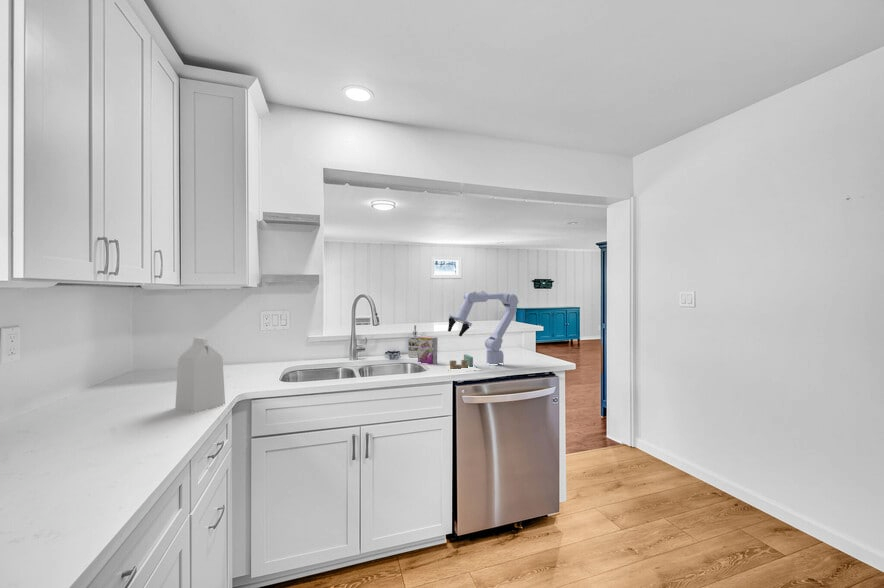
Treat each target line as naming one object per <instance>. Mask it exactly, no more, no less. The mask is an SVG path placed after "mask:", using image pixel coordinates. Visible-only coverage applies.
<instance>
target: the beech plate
mask: <svg viewBox="0 0 884 588" xmlns="http://www.w3.org/2000/svg"><path fill="white" fill-rule="evenodd" d="M460 361H461V362H460V364H457V360H456V359H455V360H454V359H453V360H449V365H450V369H461V368H468V360H464V359H461V360H460Z"/></svg>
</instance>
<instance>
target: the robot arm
mask: <svg viewBox="0 0 884 588" xmlns="http://www.w3.org/2000/svg"><path fill="white" fill-rule="evenodd" d="M488 300H499V301H500V302H501V304H502V305H503V306H504V308H505V310H506V311H505V312H504V315H503V316H502V318H501V320H500V321H499V323H498V325H497V326H496V329H495V331H494V332H493V333H492V334H491V335H489V337H488V338H487V339H486V340H485V341H484V346H485V347H486V348H485V349H486V364H487V363H489V364H499V363H503V364H504V352H503V351H502V350H501V348H502V344H503V340H504V339H503V337H504V335H505V333H506V331H507V329H508V327H509V326H510V325H511V322H512V320H513V319H514V317H515V315H516V313H517V311H518V310H517V308H518V304H519V299H518V297H517V295H516V294H514V293H513V294H510V293H504V292H503V293H501V292H499V293H498V292H497V293H487V292H486V291H484V290H481V291H479V292H477V291H473V292H466V293H465V294H464V295H463V302H462V303H461V306H460V308H459V309H458V312H457V315H456V316H455V315H452V314H449V316H448V327H447V332H452V329H453V326H455V324H456V322H458V323H461V324H462V326H461V329H460V332H459V333H458V336H459V337H462V336H463V335H464V333H466V331H467V330H469V329H470V327H472V326H473V323H472V322H470V321H468V320H467V318H468V317H469V315H470V312H471V310H472V308H473V305H474V304H475V303H485V302H487V301H488Z"/></svg>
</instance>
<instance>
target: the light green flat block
mask: <svg viewBox="0 0 884 588" xmlns="http://www.w3.org/2000/svg"><path fill="white" fill-rule="evenodd" d="M463 360H468V366H469V367H473V365H474V357H473V356H471V355H469V354H468V353H466V354H463Z"/></svg>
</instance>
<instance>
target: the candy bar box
mask: <svg viewBox="0 0 884 588" xmlns="http://www.w3.org/2000/svg"><path fill="white" fill-rule="evenodd" d="M417 343H418V344H417V348H418V349H417V363H418V362H421V363H427V365H432V364H433V365H436V364H435V363H437V364H438V337H437V336H426V335H420V336H417Z"/></svg>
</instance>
